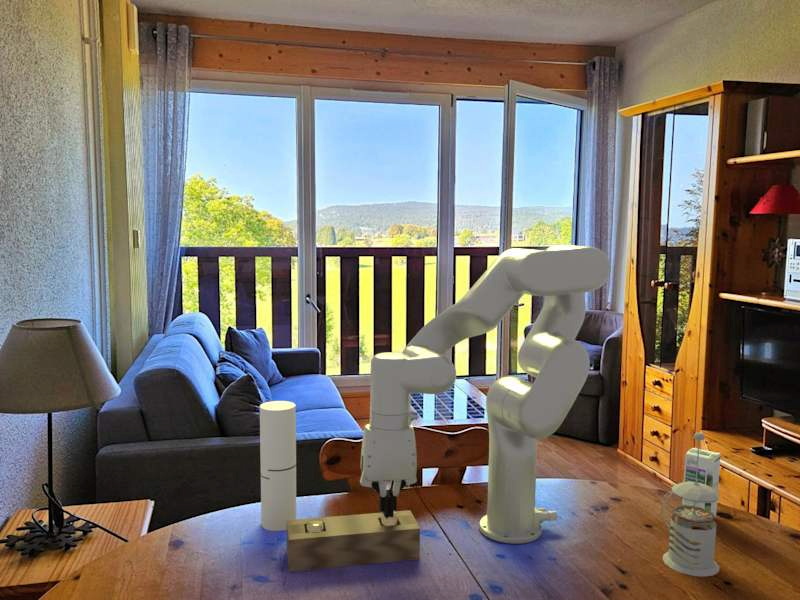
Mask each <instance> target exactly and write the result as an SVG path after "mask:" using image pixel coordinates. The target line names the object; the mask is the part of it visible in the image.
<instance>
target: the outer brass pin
mask: <svg viewBox="0 0 800 600" xmlns="http://www.w3.org/2000/svg"><path fill="white" fill-rule="evenodd" d="M311 532H323V523H322V522H321V521H311V522H308V523H307V533H311Z"/></svg>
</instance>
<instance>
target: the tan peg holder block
mask: <svg viewBox="0 0 800 600" xmlns="http://www.w3.org/2000/svg"><path fill="white" fill-rule="evenodd" d="M394 511H395V512H397V525H393V526H381V514H382V512H373V513H362V514H361V513H360V514H348V515H336V516H335V515H334V516H324V517H321V516H320V517H310V518H299V519H298V518H296V520H287V530H286V555H287V564H288V571H289V573H291V572H299V571H311V570H321V569H329V568H330V569H331V568H332V569H333V568H342V567H341V566H343V567H349V566H348V565H353V566H361V565H362V564H363V565H371V564H372V565H373V563H374V564H381V563H382V564H383V563H393V562H402V561H403V562H404V561H412V560H420V558H421V557H420V551H421V527H420V526H419V524H418V522H417V520H416V518H415V516H414V514H413V513H412V511H411V510H410V509H409V510H394ZM311 521H321V522H322V523H323V532H311V533H307V523H308V522H311ZM370 563H371V564H370Z"/></svg>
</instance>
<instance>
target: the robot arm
mask: <svg viewBox="0 0 800 600" xmlns="http://www.w3.org/2000/svg"><path fill="white" fill-rule="evenodd" d="M611 266H612V265H611V260H610V258H609V257H608V254H606V253H605V252H604V251H603V250H602V249H600V248H597V247H595V246H589V245H588V246H587V245H576V244H554V245H551V246H549V247H548V248H546V249H542V250H541V249H540V250H539V249H532V248H519V247H518V248H517V247H516V248H509V249H506V250H504V251H503V252H501V253H500V255H498V256H497V257H496V259H495V260H494V261H493V262H492V263H491V264H490V265H489V266H488V268H487V269H486V270H485V271H484V272H483V274H482V275H480V277H478V280H477V281H475V283H474V284H473V285H472V287H470V288H469V290H468V291H467V292H466V293H465V294H464V295H463V296H462V297H461V298H460V299H459V300H458V301H457V302H456V303H454V304H452V305H451V306H449V307H448V308H446V309H445V310H444V311H442V312H441V313H439V314H438V315H436V316H435V317H434V318H432V319H431V320H430V321H427V323H426V324H425V325H423V327H422V328H421V329H420V330H419V331H418V332H417V333H416V335H414V337H412V339H411V340H410V341H409V342H408V344H407V345H406V346H405V347H404V349H403V351H402V352H401V353H400V352H394V351H392V352H388V351H387V352H379V353H376V354H374V355H373V357H372V358H371V360H370V383H369V384H370V391H369V392H370V394H369V395H370V397H369V423H367V424H366V425H364V429H363V435H362V441H361V442H362V443H361V450H360V452H361V453H360V472H361V475H360V480H359V483H360V486H361V487H365V488H366V487H367V488H372V489H373V490H374V491H376V492H377V493H378V495H379V504H378V505H379V506H378V507H379V511H380V512H381V513H382V512H383V514H384V516H385V517H388V516H390V517H393V516H394V511H397V509H398V508H397V503H398V496H399V495H400V493H401V491H402V490H403V489H404V488H405V487H406V486H409V485H413V484H415V483H417V481H418V478H417V472H418V471H417V468H418V464H417V463H418V461H417V460H418V459H417V444H416V443H417V442H416V436H415V430H414V426H413V424H412V423H413V421H415V420H416V421H417V420H419V416H418V412H417V411H416V412H415V411H412V410H411V403H412V402H411V401H412V393H413V394H423V395H424V394H425V395H439V394H443V393H446V392H447V391H448V390H450V389H451V388H452V387H453V386H454V385H455V383H456V379H457V370H456V367H455V365H454V364H453V361H451V360H450V359H449V358H448V357H446V356H445V354H447V353H448V351H450V350H451V349H452V348H453V347H455V346H456V345H457V344H459V343H460V342H462V341H464V340H467V339H470V338H473V337H477V336H481V335H484V334H486V333H489V332H491V331H493V330H495V328H497V327H498V325H499V324H500V323H501V321H502V320H503V319H504V318H505V317H506V316H507V315H508V313H509V312H510V311H511V310H512V309H513V307H515V305H516V304H517V303H518V302H519V301H520V300H521V298H522V297H523V296H524V295H528V296H535V297H545V299H544V303H543V306H542V308H541V310H540V312H539V314H538V316H537V318H536V319H535V321H534V323H533V324H532V327H531V328H530V330H529V332H528V334H527V335H526V337H525V338H524V340H523V342H522V344H521V345H520V347H519V350H518V353H517V363H518V366H519V367H520V369H521V370H522V371H524V373H526V374H528V375H529V376H531V377H534V378H535V380H534V382H530V381H528V380H526V379H524V378H520V377H518V376H513V375H512V376H503V377H499V379H496V380H495V381H494V382H493V383H492V384H491V386H490V387H489V388H488V391H487V394H486V400H485V401H486V402H485V407H486V408H485V410H486V417H487V423H488V434H489V435H488V436H489V437H488V439H489V441H488V477H487V478H488V479H487V506H486V507H487V510H486V511H487V512H486V515H484V516H482V517H481V519H480V520H479V522H478V523H479V524H478V528H479V529H478V530H479V531H480V533H482V534H483V535H484V536H485V537H487V538H489V539H490V540H493V541H496V542H500V543H505V544H515V545H516V544H517V545H519V544H527V543H531V542H534V541H536V540H537V539H539V538H540V537H541V535H542V533H543V532H542V531H543V530H542V529H543V526H542V524H543V523H544V522H546V521H547V522H553V521H554V522H555V521H558V513H557V511H556V510H549V511H548V510H547V509H546V507H536V490H537V489H536V486H537V484H536V483H537V463H538V462H537V461H538V460H537V458H538V444H537V443H538V442H537V440H543V439H546V438H548V437H551V435H553V434H554V433H555V432H557V430H558V429H559V428H560V427H561V425H562V423H563V422H564V420H565V419H566V417H567V415H568V413H569V412H570V410H571V408H572V407H573V404H574V402H576V399H577V397H578V396H579V394H580V392H581V390H582V388H584V384H585V383H586V381H587V378H588V377H589V376H588V375H589V372H590V365H591V361H590V355H589V352H588V351H587V348H586V347H585V345H583V344H582V343H581V342H580V341H578V340H576V338H577V336H578V334H579V332H580V330H581V328H582V326H583V323H584V320H585V318H586V312H587V303H586V296H585V293H589V292H593V291H596V290H598V289H601V288H602V287H603V286H604V285H605V284H606V283H607V281H608V280H609V278H610V275H611V272H612V271H611V270H612V267H611ZM386 482H390V486H389V489H388V490H387V487H386Z"/></svg>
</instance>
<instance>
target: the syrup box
mask: <svg viewBox="0 0 800 600" xmlns="http://www.w3.org/2000/svg"><path fill="white" fill-rule="evenodd" d="M697 454H698V447H692V448H690V449H689V450H688V451H687V452H686V453H685V456H684V467H683V468H684V469H683V470H684V472H683V482H689V481H691V482H696V468H697ZM721 454H722V453H721V452H715V451H711V450H710V451H709V450H707V449H700V448H699V457H698V472H697V483H702V484H705V485H707V486H710V487H711V488H712V489H714V490H715V491H716V492H717V493H718V494H719V480H720V466H721ZM681 505H692V506H694V502H692V501H688V500H685V499H683V498H682V504H681ZM695 506H696V507H702V508H703V509H707V510H708V511H711V512H712V513H713V514H714V515H715V518H717V511H718V510H717V508H718V507H717V506H718V500H717V501H715V502H713V503H697V502H695ZM702 524H704V525H706V526H709V524H708V523H702Z"/></svg>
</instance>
